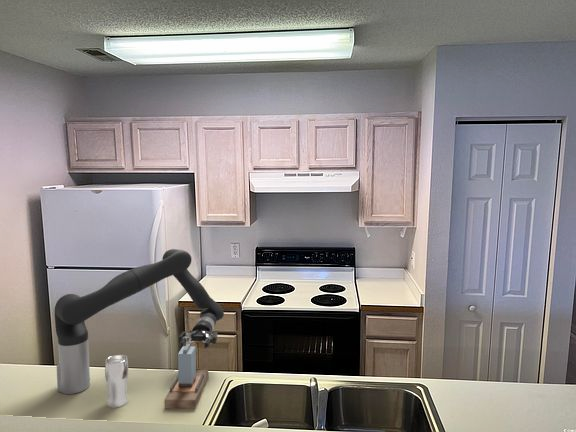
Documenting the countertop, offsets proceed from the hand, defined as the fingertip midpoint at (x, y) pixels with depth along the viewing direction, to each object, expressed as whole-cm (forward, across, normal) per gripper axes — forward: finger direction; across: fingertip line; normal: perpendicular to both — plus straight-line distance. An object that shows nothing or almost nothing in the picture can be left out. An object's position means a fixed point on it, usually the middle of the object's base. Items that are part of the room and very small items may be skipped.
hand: (193, 345), depth 143 cm
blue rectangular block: (+9, 0, +10) cm, 13 cm away
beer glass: (+16, -22, +13) cm, 30 cm away
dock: (+9, 0, +13) cm, 16 cm away
